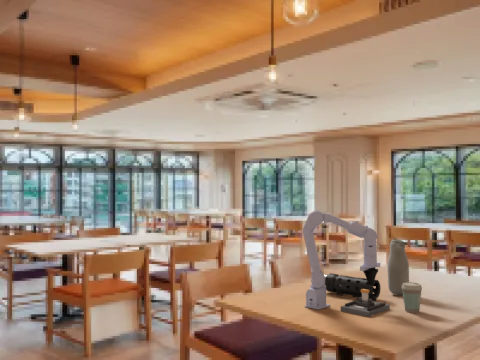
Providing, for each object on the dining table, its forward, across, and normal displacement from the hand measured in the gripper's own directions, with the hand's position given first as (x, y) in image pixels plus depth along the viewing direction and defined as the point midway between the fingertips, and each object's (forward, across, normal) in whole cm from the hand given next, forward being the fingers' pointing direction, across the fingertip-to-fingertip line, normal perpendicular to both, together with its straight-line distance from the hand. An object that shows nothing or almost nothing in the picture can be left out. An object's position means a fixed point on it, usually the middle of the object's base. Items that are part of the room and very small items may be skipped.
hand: (370, 284), depth 208 cm
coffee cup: (+11, +7, -16) cm, 20 cm away
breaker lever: (+6, -5, 0) cm, 8 cm away
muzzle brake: (+11, +13, +19) cm, 25 cm away
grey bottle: (+11, +32, +3) cm, 34 cm away
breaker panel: (+10, -5, 0) cm, 12 cm away
